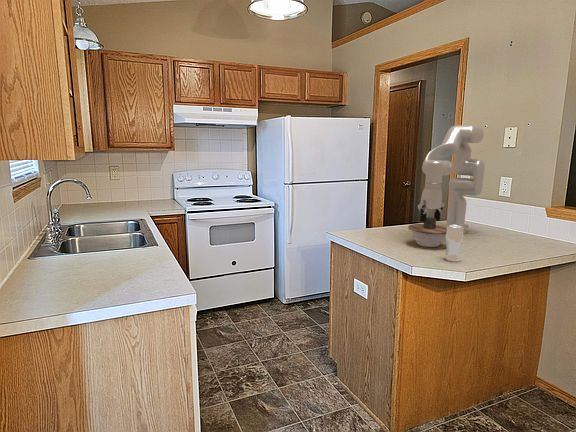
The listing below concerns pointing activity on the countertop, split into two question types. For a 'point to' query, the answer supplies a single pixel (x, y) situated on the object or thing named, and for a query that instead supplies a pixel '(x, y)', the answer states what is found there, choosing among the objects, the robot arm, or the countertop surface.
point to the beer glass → (453, 242)
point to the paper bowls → (428, 239)
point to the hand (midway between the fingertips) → (429, 220)
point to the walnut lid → (428, 227)
